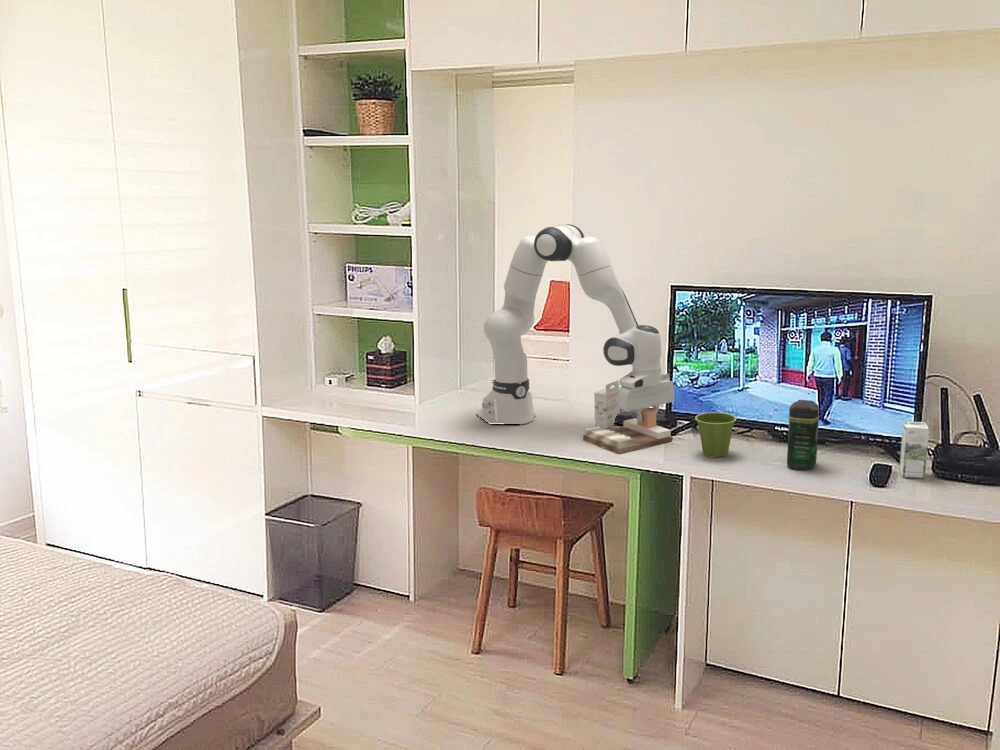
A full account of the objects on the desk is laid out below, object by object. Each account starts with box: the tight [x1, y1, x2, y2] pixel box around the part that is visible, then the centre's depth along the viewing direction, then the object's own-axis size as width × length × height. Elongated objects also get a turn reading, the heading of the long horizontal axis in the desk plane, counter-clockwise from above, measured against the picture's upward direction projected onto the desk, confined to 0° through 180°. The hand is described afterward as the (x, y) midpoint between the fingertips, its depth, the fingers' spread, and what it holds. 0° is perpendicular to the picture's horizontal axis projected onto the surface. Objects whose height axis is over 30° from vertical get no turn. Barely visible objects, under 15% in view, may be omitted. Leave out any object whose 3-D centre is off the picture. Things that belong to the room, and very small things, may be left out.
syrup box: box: [899, 421, 930, 479], centre depth 253 cm, size 6×6×14 cm
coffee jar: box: [786, 399, 820, 471], centre depth 263 cm, size 10×8×19 cm
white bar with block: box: [622, 407, 672, 439], centre depth 296 cm, size 17×5×7 cm, turn 31°
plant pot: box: [694, 411, 738, 458], centre depth 276 cm, size 12×12×11 cm
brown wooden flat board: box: [582, 426, 673, 455], centre depth 293 cm, size 18×21×4 cm
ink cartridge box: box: [593, 379, 621, 429], centre depth 310 cm, size 9×5×15 cm, turn 143°
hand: (646, 420), depth 296 cm, fingers closed on white bar with block, 3 cm apart
